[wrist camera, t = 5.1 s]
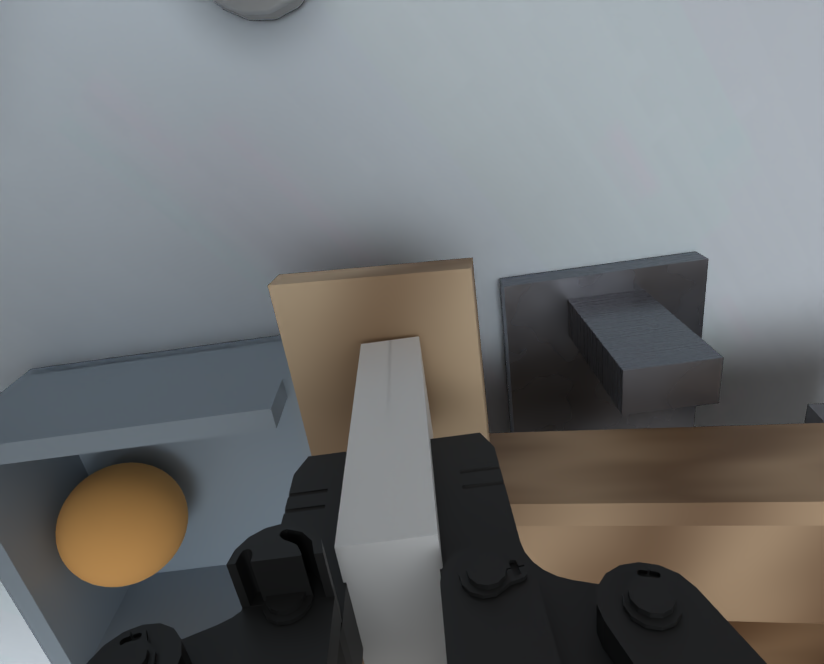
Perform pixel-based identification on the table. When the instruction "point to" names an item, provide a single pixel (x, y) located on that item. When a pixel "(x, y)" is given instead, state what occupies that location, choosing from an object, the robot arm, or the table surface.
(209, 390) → the bin
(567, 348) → the stand
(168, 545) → the ball
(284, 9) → the rook chess piece
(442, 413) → the chute
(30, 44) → the table surface
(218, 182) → the table surface
